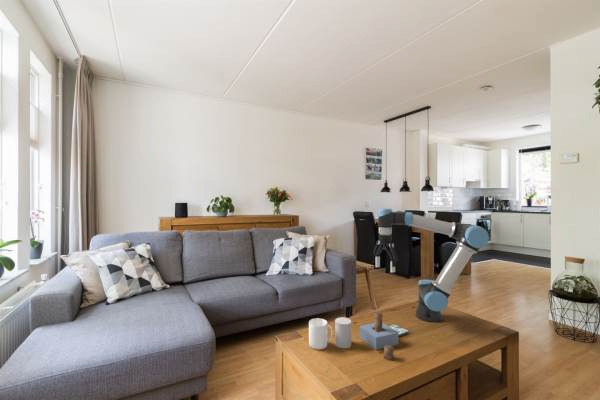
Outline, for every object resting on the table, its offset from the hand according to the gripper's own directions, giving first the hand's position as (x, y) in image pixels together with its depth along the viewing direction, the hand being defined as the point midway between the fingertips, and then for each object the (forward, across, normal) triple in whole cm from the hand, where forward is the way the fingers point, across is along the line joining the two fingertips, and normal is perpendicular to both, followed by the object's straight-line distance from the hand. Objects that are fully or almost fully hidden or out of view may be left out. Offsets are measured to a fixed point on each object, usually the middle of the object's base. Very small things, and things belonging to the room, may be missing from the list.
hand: (385, 269), depth 172 cm
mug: (+32, +8, -48) cm, 58 cm away
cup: (+32, +12, -37) cm, 50 cm away
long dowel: (+32, +17, -18) cm, 40 cm away
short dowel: (+32, +32, -24) cm, 51 cm away
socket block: (+32, +17, -18) cm, 40 cm away
